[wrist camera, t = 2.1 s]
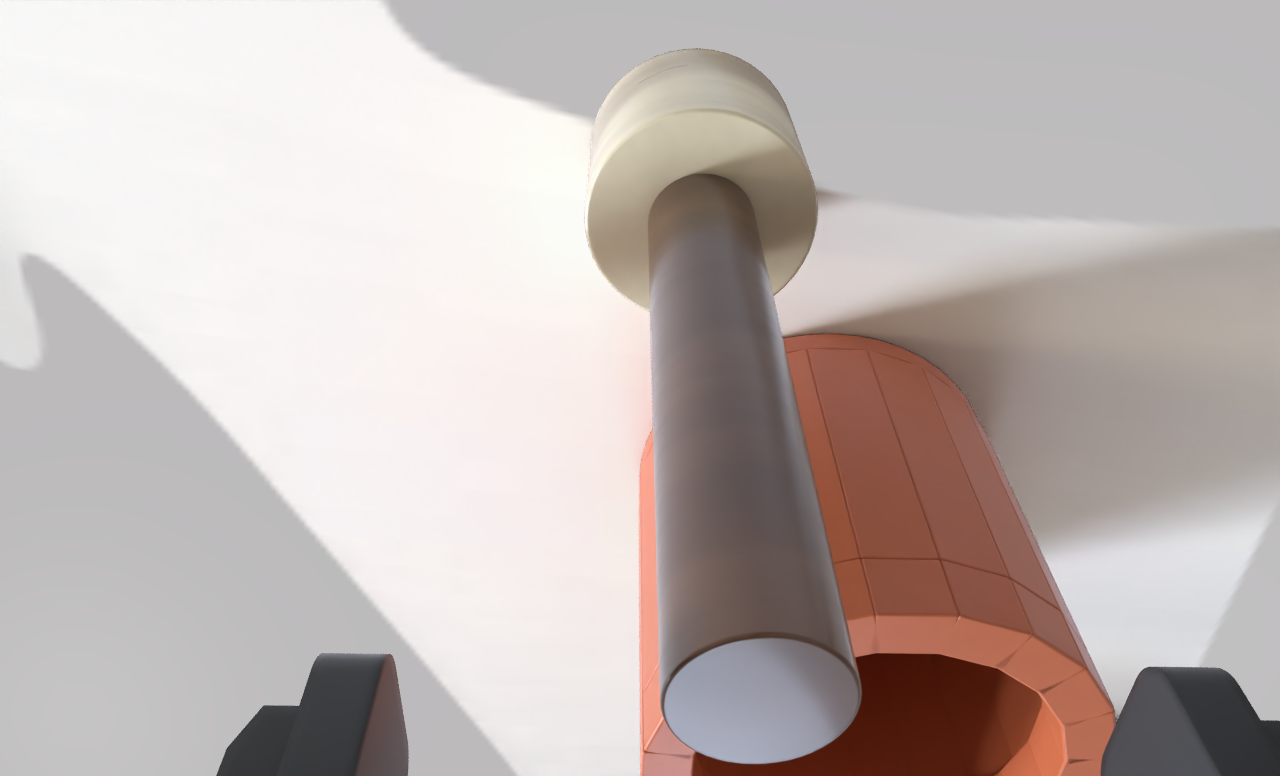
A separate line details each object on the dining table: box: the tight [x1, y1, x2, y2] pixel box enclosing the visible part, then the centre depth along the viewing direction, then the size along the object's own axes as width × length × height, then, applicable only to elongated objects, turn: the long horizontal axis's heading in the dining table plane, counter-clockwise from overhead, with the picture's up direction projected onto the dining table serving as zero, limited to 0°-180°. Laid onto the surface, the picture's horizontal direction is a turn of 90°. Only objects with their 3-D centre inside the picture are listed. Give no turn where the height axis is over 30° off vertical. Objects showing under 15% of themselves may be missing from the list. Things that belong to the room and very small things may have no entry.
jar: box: [639, 334, 1115, 776], centre depth 26 cm, size 10×10×10 cm
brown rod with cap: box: [584, 49, 862, 764], centre depth 18 cm, size 5×5×16 cm
